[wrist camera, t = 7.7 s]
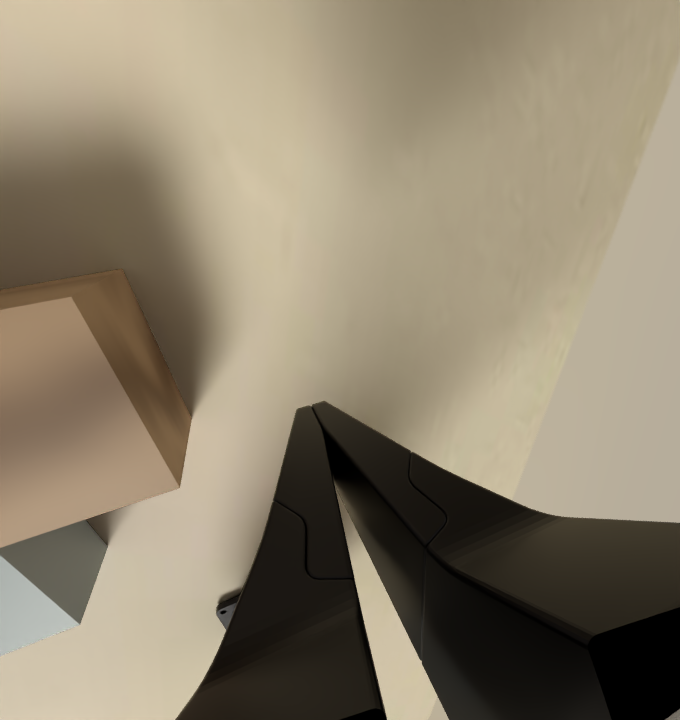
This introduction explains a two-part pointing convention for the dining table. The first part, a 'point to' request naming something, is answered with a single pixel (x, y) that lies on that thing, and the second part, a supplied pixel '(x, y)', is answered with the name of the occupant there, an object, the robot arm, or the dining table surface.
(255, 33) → the dining table surface
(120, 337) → the walnut block
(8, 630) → the blue-grey block
